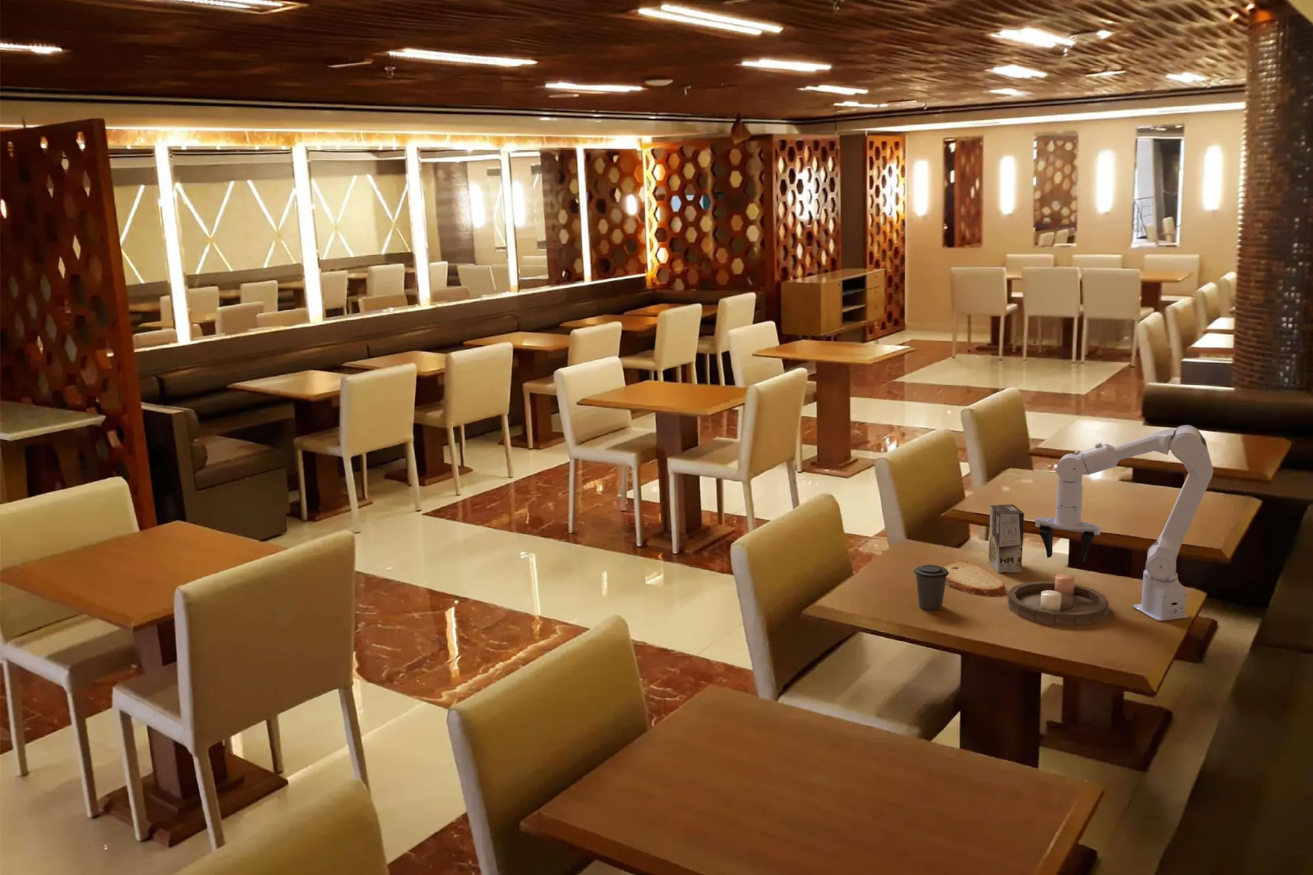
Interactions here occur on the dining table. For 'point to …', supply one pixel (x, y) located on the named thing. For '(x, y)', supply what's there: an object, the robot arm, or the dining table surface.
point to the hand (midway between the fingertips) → (1065, 558)
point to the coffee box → (1006, 538)
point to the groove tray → (1073, 611)
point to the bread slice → (973, 580)
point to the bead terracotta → (1065, 584)
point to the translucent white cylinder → (1050, 600)
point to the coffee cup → (931, 586)
